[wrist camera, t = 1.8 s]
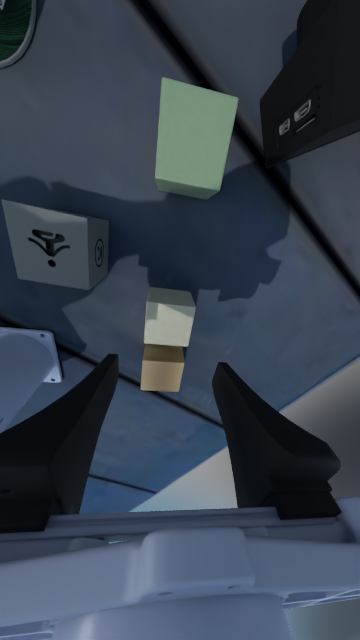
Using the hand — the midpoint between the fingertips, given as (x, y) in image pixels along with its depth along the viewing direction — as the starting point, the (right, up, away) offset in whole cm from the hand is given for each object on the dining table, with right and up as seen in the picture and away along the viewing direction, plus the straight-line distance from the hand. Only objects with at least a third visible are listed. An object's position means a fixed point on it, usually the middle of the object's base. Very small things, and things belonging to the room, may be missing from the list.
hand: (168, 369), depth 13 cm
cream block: (0, +5, +8) cm, 9 cm away
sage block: (+1, +16, +2) cm, 17 cm away
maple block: (-1, -1, +11) cm, 11 cm away
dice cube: (-9, +11, +4) cm, 14 cm away
